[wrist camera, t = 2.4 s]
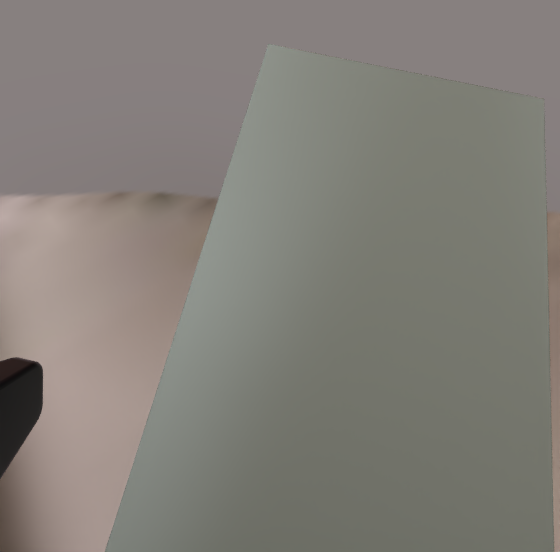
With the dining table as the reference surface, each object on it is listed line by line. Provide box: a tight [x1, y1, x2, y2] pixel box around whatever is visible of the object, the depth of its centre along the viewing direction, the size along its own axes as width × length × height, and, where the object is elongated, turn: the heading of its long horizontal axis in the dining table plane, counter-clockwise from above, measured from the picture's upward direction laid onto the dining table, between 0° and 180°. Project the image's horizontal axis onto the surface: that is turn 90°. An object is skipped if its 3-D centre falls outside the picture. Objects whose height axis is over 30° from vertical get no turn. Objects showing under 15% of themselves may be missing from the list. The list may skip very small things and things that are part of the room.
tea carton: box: [105, 44, 554, 552], centre depth 11 cm, size 7×4×12 cm, turn 168°
